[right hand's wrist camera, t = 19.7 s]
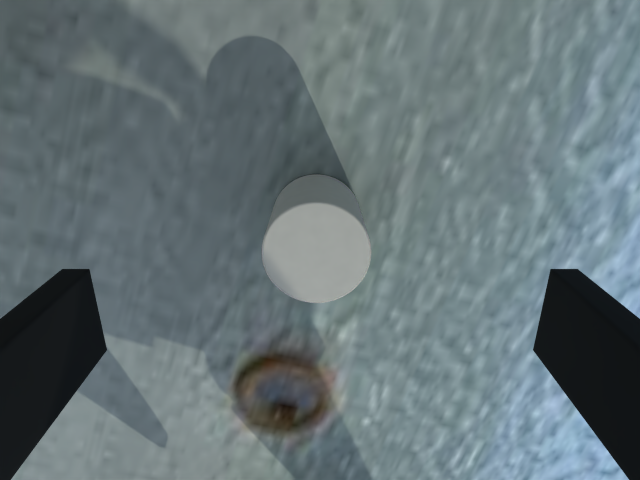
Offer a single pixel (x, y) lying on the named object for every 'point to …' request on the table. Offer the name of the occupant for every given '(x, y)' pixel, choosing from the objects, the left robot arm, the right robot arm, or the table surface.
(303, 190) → the canister
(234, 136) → the table surface
